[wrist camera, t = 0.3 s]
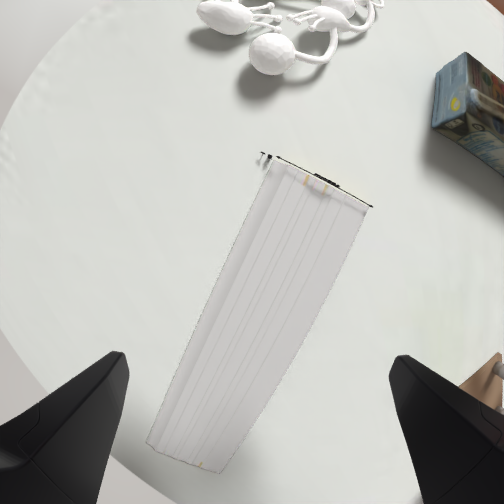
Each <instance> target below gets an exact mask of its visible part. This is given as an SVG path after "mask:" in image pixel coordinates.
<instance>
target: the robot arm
mask: <svg viewBox="0 0 504 504" xmlns="http://www.w3.org/2000/svg"><path fill="white" fill-rule="evenodd" d="M128 381H129V368H128V364H127V360H126V357H125V354H124V353H123V352H117V351H111V352H110V353H108V354H107V355H105V356H104V357H103V358H101V359H100V360H98V361H97V362H95V363H94V364H93V365H91V366H90V367H88V368H87V369H85V370H84V371H83V372H81V373H80V374H78V375H77V376H75V377H74V378H72V379H71V380H70V381H68V382H67V383H65V384H64V385H62V386H61V387H60V388H58V389H57V390H55V391H54V392H52V393H51V394H49V395H48V396H47V397H45V398H44V399H42V400H41V401H40V402H39V403H36V404H35V405H34V406H32V407H31V408H29V409H28V410H26V411H25V412H23V413H22V414H20V415H18V416H17V417H15V418H13V419H11V420H10V421H8V422H6V423H4V424H3V425H1V426H0V504H96V502H97V498H98V494H99V490H100V487H101V483H102V479H103V476H104V471H105V468H106V465H107V461H108V458H109V454H110V451H111V448H112V444H113V441H114V438H115V434H116V431H117V428H118V425H119V422H120V418H121V415H122V410H123V405H124V400H125V395H126V390H127V385H128ZM389 382H390V386H391V390H392V394H393V399H394V403H395V407H396V412H397V415H398V419H399V422H400V425H401V428H402V431H403V434H404V437H405V440H406V443H407V446H408V450H409V453H410V456H411V459H412V463H413V466H414V469H415V473H416V476H417V480H418V484H419V487H420V491H421V495H422V499H423V503H424V504H504V415H503V414H501V413H499V412H498V411H496V410H494V409H492V408H491V407H489V406H487V405H486V404H484V403H483V402H481V401H479V400H478V399H476V398H475V397H473V396H472V395H470V394H469V393H467V392H465V391H464V390H462V389H461V388H459V387H458V386H456V385H454V384H453V383H451V382H450V381H448V380H447V379H445V378H443V377H442V376H440V375H439V374H437V373H436V372H434V371H432V370H431V369H429V368H428V367H426V366H425V365H423V364H421V363H420V362H418V361H417V360H415V359H414V358H412V357H410V356H409V355H399V356H397V357H396V358H395V360H394V363H393V365H392V368H391V370H390V373H389Z"/></svg>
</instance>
